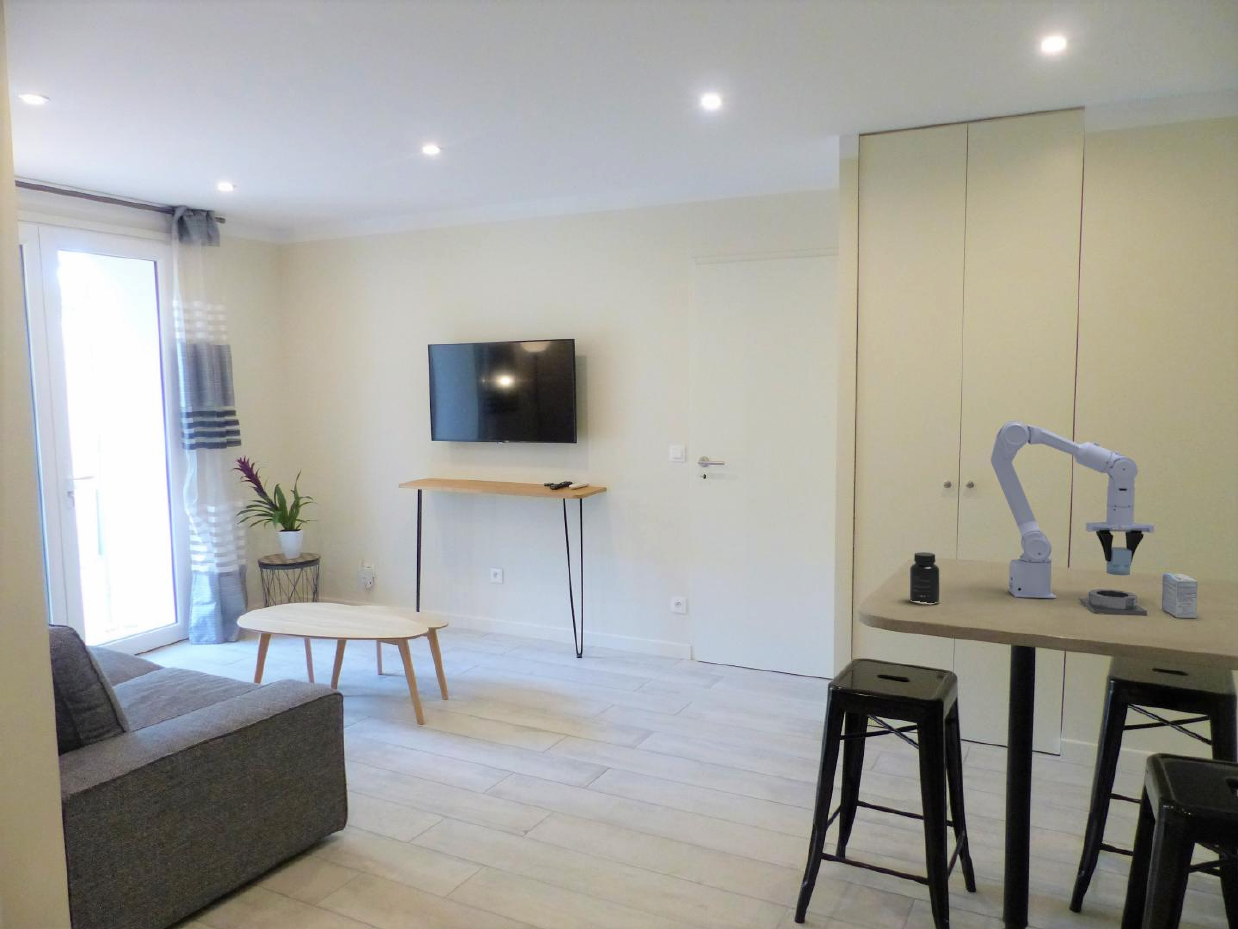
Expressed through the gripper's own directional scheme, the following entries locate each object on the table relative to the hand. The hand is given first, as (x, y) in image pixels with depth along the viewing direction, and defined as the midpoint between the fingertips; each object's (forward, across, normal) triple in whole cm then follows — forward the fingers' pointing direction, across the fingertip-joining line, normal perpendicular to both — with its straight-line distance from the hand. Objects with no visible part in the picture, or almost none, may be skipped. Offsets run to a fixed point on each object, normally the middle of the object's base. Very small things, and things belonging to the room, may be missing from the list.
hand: (1118, 561), depth 212 cm
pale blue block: (+3, 0, 0) cm, 3 cm away
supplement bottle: (+10, -46, -9) cm, 48 cm away
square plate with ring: (+10, -4, -9) cm, 14 cm away
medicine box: (+10, +9, -12) cm, 18 cm away
